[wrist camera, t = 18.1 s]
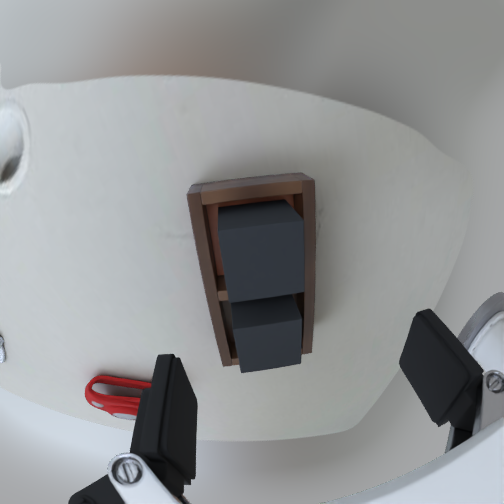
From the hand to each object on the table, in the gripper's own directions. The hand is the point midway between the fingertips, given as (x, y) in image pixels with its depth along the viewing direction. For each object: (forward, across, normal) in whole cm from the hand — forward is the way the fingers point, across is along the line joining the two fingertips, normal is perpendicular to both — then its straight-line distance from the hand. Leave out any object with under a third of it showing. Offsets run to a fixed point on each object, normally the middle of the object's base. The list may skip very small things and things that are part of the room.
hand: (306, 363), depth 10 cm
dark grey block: (+13, +1, 0) cm, 13 cm away
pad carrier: (+14, +1, +3) cm, 14 cm away
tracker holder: (+14, +18, +19) cm, 30 cm away
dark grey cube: (+13, +1, +7) cm, 15 cm away
